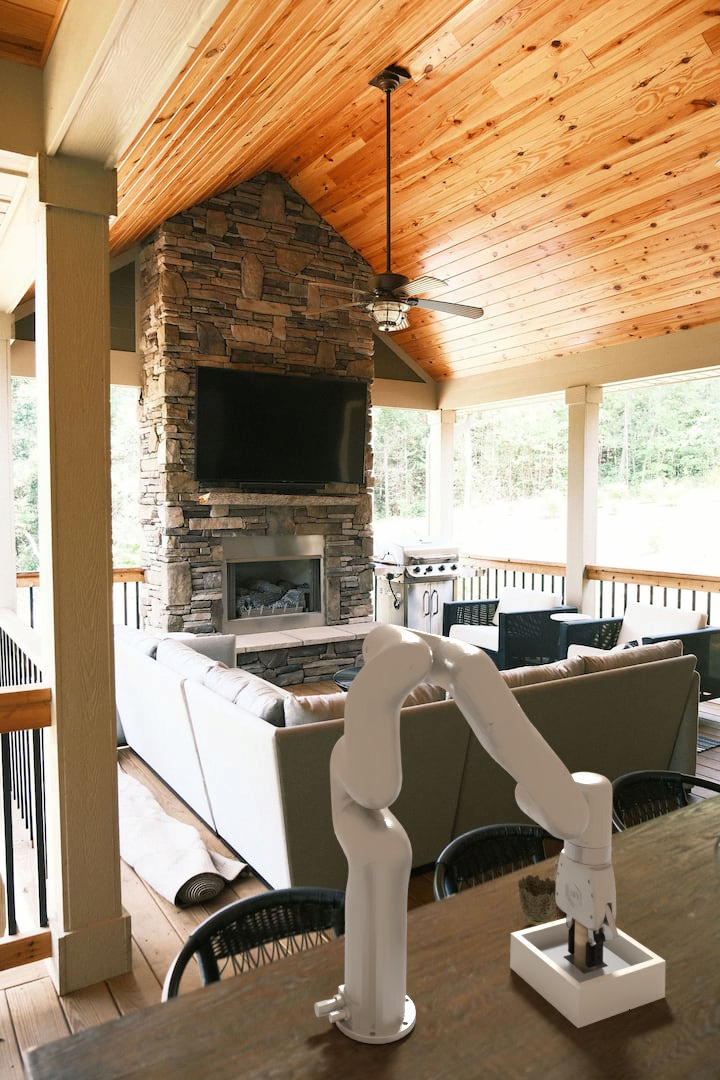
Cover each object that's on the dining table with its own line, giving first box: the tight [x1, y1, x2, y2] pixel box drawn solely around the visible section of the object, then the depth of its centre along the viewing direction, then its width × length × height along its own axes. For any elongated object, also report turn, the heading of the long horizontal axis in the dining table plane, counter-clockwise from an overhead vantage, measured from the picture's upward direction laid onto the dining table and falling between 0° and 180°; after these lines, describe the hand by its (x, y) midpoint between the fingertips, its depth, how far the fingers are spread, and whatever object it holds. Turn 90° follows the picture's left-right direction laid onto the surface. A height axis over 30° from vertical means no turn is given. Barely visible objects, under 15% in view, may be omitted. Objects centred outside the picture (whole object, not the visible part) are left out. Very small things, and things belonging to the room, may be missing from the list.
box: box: [509, 917, 667, 1029], centre depth 126 cm, size 18×17×6 cm
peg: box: [574, 920, 597, 974], centre depth 126 cm, size 4×4×10 cm
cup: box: [517, 874, 557, 927], centre depth 143 cm, size 8×7×8 cm
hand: (585, 957), depth 126 cm, fingers closed on peg, 3 cm apart
